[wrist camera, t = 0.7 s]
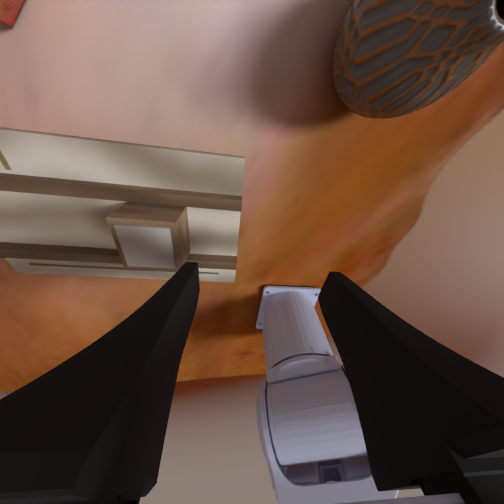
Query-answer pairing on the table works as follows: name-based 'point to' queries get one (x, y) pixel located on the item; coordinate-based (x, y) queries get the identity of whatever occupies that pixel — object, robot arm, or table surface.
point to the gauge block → (151, 236)
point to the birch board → (111, 202)
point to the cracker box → (9, 10)
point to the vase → (411, 51)
